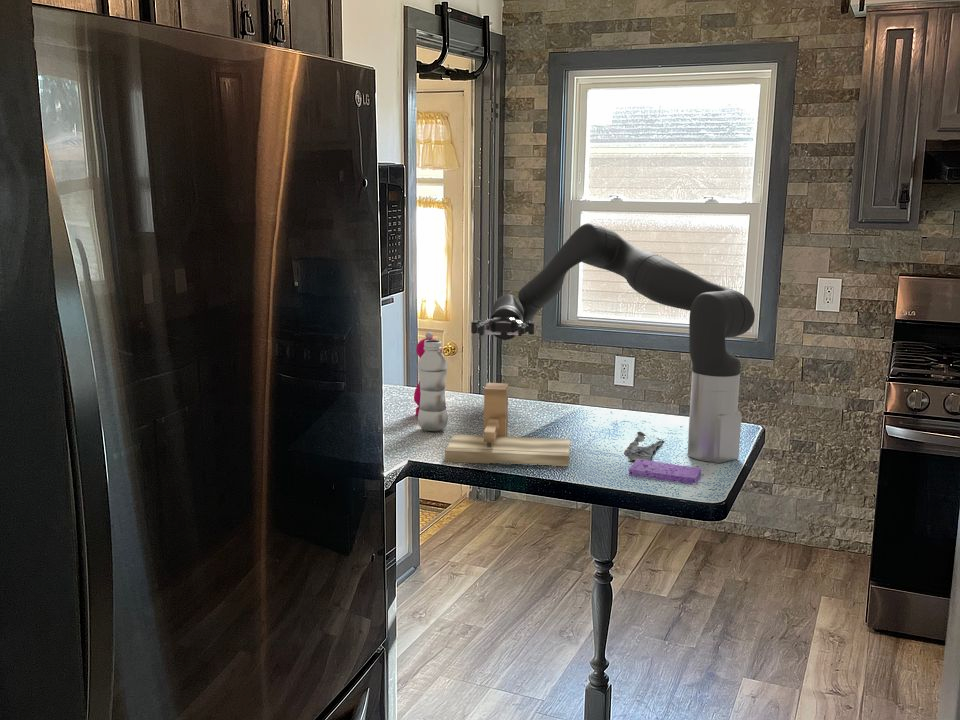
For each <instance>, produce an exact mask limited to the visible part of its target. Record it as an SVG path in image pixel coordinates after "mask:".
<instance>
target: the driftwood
mask: <svg viewBox="0 0 960 720" xmlns="http://www.w3.org/2000/svg"><path fill="white" fill-rule="evenodd" d="M636 434H637V436H636V437H635V439H634V440H633V441H632V442H631V443H629V445H628V446H627V447H626V449H625V450H624V452H623V455H624V457H627V459H628V460H629V462H631V461H636V459H643V460H648V461H652V459H651V457H652V456H653V453H657V452H656V451H657V447H658V446H661V445H662V443H665V441H664V440H662V438H661V439H659V438H657V439H658V440H657V441H656V442H655V443H651V445H649V446H639V444H640V443H642V442H645V441H646V439H645V437H644V436H646V437H647V434H645V433H644V432H643V431H637V433H636Z"/></svg>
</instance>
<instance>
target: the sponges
mask: <svg viewBox="0 0 960 720" xmlns="http://www.w3.org/2000/svg"><path fill="white" fill-rule="evenodd" d="M631 475H632V477H638V476H640V478H646V477H649V478H648V479H653V478H656V479H655V480H660V479H661V480H662V481H667V480H669V482H674V481H676V482H675V483H681V482H685V483H684V484H688V483H692V484H691V485H694V484H693V483H696V484H697V483H698V481H699V479H700V477H701V475H702V467H699V466H697V467H696V466H688V465H679V464H674V463H673V464H672V463H668V462H665V463H664V462H662V461H661V462H660V461H656V460H655V461H654V460H651V461H648V460H643V459H636V460H634V462H633V463H632V464H631V466H629V467H628V476H631ZM697 480H698V481H697ZM677 481H678V482H677Z"/></svg>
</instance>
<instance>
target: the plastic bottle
mask: <svg viewBox="0 0 960 720" xmlns="http://www.w3.org/2000/svg"><path fill="white" fill-rule="evenodd" d="M441 346H442V340H439V339H436V340H426V341H424V350H425V353H424V354H423V355H422V356H421V358H420V357H419V359H420V360H419V359H418V360H419V361H418V362H417V373H418V379H419V380H420V389H421V390H420V393H421V396H420V409H419V413H418V417H417V422H418V426H419V427H420V430H423V431H429V432H438V431H443V430H445V429H446V428H447V426H448V422H449V417H448V416H449V415H448V414H449V413H448V409H447V403H446V381H447V373H448V362H447V360H446V358H445V356H444V355H443V354H442V353H441V352H440V350H442V351H443V347H441ZM419 380H418V381H419Z"/></svg>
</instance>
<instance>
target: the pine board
mask: <svg viewBox="0 0 960 720" xmlns="http://www.w3.org/2000/svg"><path fill="white" fill-rule="evenodd" d="M570 453H571V439H570V438H550V437H548V438H547V437H527V436H526V437H523V436H507V437H504V436H496V438H495V441H494V443H492V446H491V448H489V447H487V442H484V435H478V434H473V435H472V434H454V435H453V436H452V437H451V439H450V441H449V443H448V445H447V447H446V449H445V457H444V458H445V461H444V462H449V463H470V464H471V463H473V464H489V463H513V464H538V465H553V466H552V467H556V466H569V467H570Z"/></svg>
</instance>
